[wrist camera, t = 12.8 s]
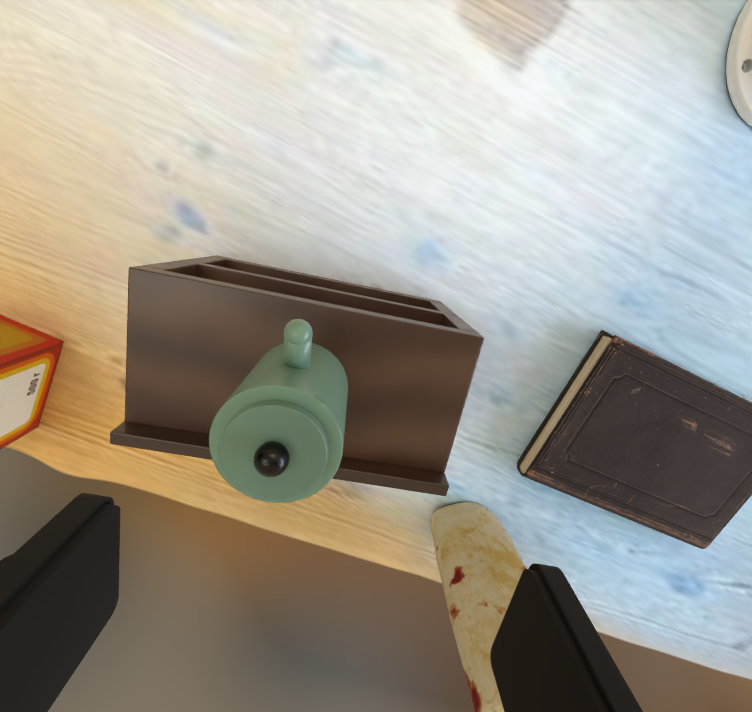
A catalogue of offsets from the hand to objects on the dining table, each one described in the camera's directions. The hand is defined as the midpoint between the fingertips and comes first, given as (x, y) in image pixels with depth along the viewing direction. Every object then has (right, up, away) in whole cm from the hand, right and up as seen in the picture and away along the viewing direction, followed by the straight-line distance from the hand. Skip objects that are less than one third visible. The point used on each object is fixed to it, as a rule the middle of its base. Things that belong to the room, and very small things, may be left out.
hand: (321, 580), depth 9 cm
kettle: (-3, +5, +14) cm, 15 cm away
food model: (+11, -13, +34) cm, 38 cm away
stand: (-4, +7, +27) cm, 28 cm away
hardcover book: (+30, -4, +32) cm, 43 cm away
